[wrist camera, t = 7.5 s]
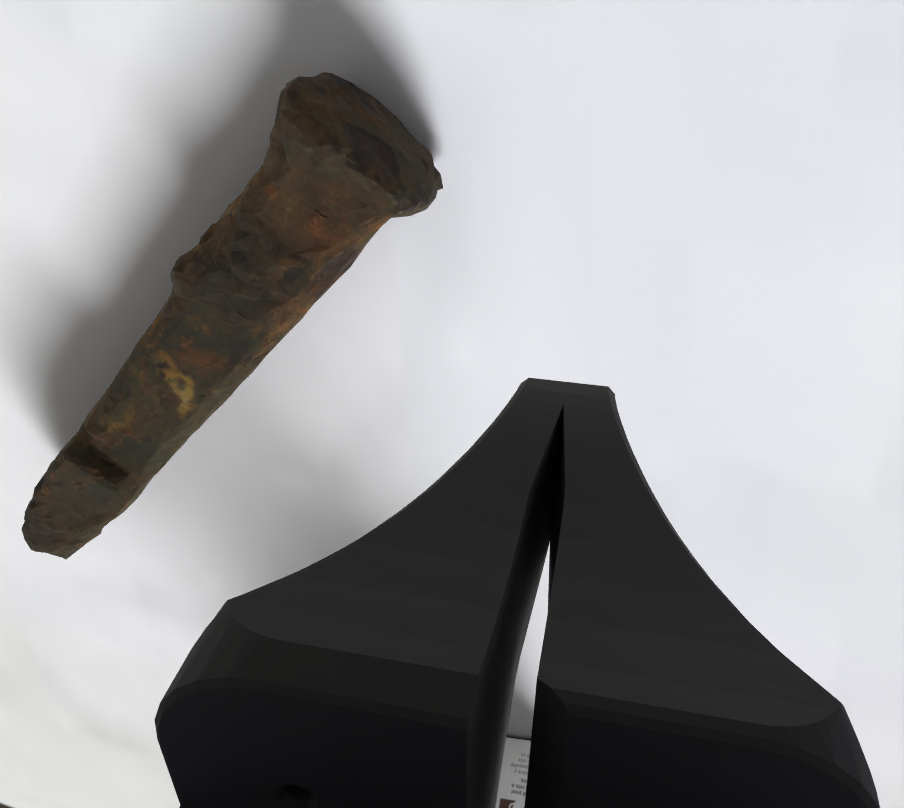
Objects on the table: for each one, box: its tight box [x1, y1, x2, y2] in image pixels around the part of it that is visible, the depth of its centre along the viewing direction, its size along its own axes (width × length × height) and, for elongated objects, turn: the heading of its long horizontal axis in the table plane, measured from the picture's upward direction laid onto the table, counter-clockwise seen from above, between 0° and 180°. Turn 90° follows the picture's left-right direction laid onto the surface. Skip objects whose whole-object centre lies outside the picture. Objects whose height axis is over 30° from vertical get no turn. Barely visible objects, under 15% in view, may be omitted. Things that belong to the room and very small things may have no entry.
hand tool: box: [22, 73, 443, 559], centre depth 23 cm, size 19×4×5 cm, turn 137°
